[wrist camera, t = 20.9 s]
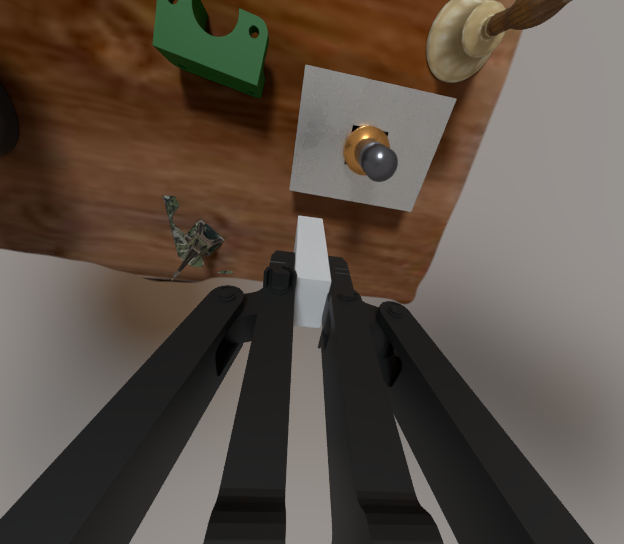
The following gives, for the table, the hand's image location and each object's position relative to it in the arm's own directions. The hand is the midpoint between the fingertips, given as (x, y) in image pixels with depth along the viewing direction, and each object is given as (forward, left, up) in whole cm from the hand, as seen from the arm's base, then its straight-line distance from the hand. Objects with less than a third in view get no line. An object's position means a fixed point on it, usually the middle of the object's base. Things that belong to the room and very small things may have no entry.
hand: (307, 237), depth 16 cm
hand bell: (+16, +16, -27) cm, 35 cm away
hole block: (+7, +3, -27) cm, 27 cm away
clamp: (-13, +11, -27) cm, 31 cm away
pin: (+7, +3, -26) cm, 27 cm away
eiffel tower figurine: (-17, -16, -27) cm, 36 cm away
